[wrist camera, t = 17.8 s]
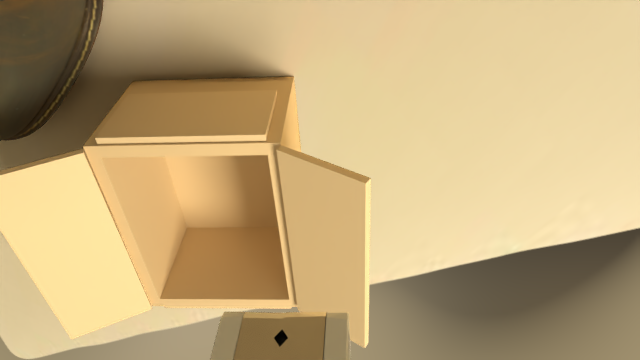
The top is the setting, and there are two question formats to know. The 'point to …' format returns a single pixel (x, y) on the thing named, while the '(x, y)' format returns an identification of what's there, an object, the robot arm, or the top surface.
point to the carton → (201, 188)
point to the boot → (41, 58)
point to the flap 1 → (70, 242)
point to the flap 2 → (328, 237)
